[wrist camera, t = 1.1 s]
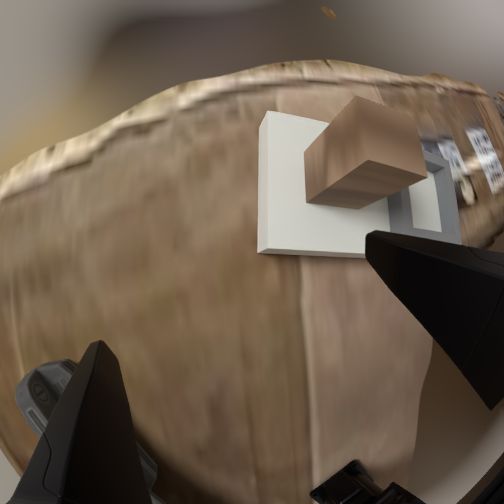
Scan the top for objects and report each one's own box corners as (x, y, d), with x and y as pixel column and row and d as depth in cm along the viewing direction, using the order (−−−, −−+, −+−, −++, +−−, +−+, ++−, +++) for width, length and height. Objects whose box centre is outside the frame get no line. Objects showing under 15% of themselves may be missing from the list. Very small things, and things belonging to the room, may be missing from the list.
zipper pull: (182, 577, 11) (-21, 406, 10) (178, 540, 17) (15, 384, 17) (254, 555, 13) (34, 362, 12) (240, 516, 20) (70, 344, 19)
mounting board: (435, 261, 28) (466, 256, 23) (257, 253, 23) (276, 244, 19) (424, 168, 30) (450, 154, 25) (259, 127, 25) (274, 97, 20)
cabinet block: (358, 209, 23) (428, 177, 15) (305, 202, 22) (367, 159, 13) (353, 162, 23) (414, 118, 15) (303, 152, 22) (356, 95, 14)
